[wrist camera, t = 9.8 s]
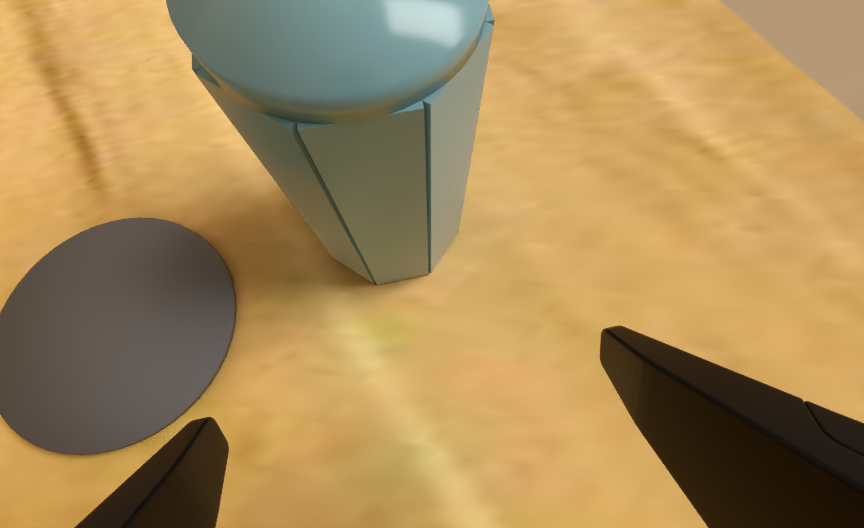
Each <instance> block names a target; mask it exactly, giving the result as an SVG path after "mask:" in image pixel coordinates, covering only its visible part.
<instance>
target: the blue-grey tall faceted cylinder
mask: <svg viewBox="0 0 864 528" xmlns="http://www.w3.org/2000/svg"><path fill="white" fill-rule="evenodd" d="M488 2H489V0H166V3H167V7H168V11H169V14H170V18H171V20H172V22H173V24H174V26H175V28H176V30H177V32H178V34H179V35H180V37H181V38H182V40H183V41H184V43H185V44H186V45H187V47H188V48H189V50H190V51H191V52H192V69H193V71H194V72H195V74H196V75H197V77H198V78H199V80H200V81H201V82H202V84H203V85H204V86H205V88H206V89H207V90H208V92H209V93H210V94H211V96H212V97H213V98H214V100H215V101H216V102H217V104H218V105H219V106H220V108H221V109H222V110H223V112H224V113H225V114H226V116H227V117H228V118H229V120H230V121H231V122H232V124H233V125H234V126H235V128H236V129H237V130H238V132H239V133H240V134H241V136H242V137H243V138H244V140H245V141H246V142H247V144H248V145H249V147H250V148H251V149H252V151H253V152H254V153H255V155H256V156H257V157H258V159H259V160H260V161H261V163H262V164H263V165H264V167H265V168H266V169H267V171H268V172H269V173H270V175H271V176H272V177H273V179H274V180H275V181H276V183H277V184H278V185H279V187H280V188H281V189H282V191H283V192H284V193H285V195H286V196H287V197H288V199H289V200H290V201H291V203H292V204H293V205H294V207H295V208H296V210H297V211H298V212H299V214H300V215H301V216H302V218H303V219H304V220H305V222H306V223H307V224H308V226H309V227H310V228H311V230H312V231H313V232H314V234H315V235H316V236H317V238H318V239H319V240H320V242H321V243H322V244H323V246H324V247H325V248H326V250H327V251H328V252H329V254H330V255H331V256H332V258H334V259H335V260H337V261H338V262H340V263H342V264H343V265H345V266H346V267H348V268H349V269H351V270H352V271H354V272H356V273H357V274H359V275H360V276H362V277H363V278H365V279H366V280H368V281H369V282H371V283H373V284H375V283H376V284H377V285H380V284H385V283H390V282H394V281H399V280H404V279H409V278H414V277H419V276H424V275H429V272H432V271H433V269H434V268H435V266H436V265H437V264H438V262H439V261H440V259H441V258H442V256H443V255H444V253H445V252H446V250H447V249H448V247H449V246H450V244H451V243H452V241H453V240H454V238H455V237H456V235H457V234H458V232H459V227H460V221H461V215H462V209H463V203H464V197H465V191H466V185H467V179H468V174H469V168H470V162H471V156H472V150H473V144H474V138H475V132H476V126H477V120H478V115H479V109H480V103H481V97H482V91H483V85H484V79H485V73H486V67H487V62H488V56H489V50H490V44H491V38H492V32H493V26H494V17H493V14H492V11H491V9H490V6H489V3H488Z"/></svg>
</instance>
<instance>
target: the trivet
mask: <svg viewBox="0 0 864 528" xmlns="http://www.w3.org/2000/svg"><path fill="white" fill-rule="evenodd" d="M235 320H236V295H235V290H234V285H233V281H232V278H231V275H230V273H229V270H228V268H227V266H226V264H225V262H224V261H223V259H222V257H221V256H220V255H219V254H218V252H217V251H216V250H215V248H213V247H212V246H211V245H210V244H209V243H208V242H207V241H206V240H205V239H203V238H202V237H200V236H199V235H197V234H196V233H194V232H193V231H191V230H189V229H187V228H185V227H183V226H181V225H179V224H176V223H173V222H169V221H166V220H160V219H154V218H130V219H122V220H117V221H111V222H108V223H104V224H101V225H98V226H95V227H92V228H90V229H88V230H85V231H83V232H81V233H79V234H77V235H75V236H73V237H71V238H69V239H68V240H66V241H65V242H63V243H62V244H60V245H59V246H57V247H56V248H54V249H53V250H52V251H50V252H49V253H48V254H47V255H45V256H44V257H43V258H42V259H41V260H40V261H39V262H37V263H36V264H35V265H34V266H33V267H32V268H31V269H30V270H29V271H28V273H27V274H26V275H25V276H24V277H23V279H22V280H21V281H20V282H19V283H18V285H17V286H16V288H15V289H14V291H13V292H12V294H11V295H10V296H9V298H8V300H7V302H6V304H5V305H4V307H3V309H2V311H1V313H0V414H1V416H2V417H3V418H4V420H5V421H6V422H7V423H8V425H9V426H10V427H11V428H12V429H13V430H14V431H15V432H16V433H17V434H19V435H20V436H21V437H22V438H24V439H25V440H27V441H29V442H30V443H32V444H34V445H36V446H38V447H41V448H44V449H46V450H49V451H53V452H58V453H63V454H78V455H83V454H94V453H102V452H107V451H111V450H116V449H120V448H124V447H127V446H130V445H132V444H135V443H138V442H141V441H142V440H144V439H146V438H148V437H150V436H152V435H154V434H156V433H158V432H160V431H161V430H163V429H164V428H166V427H167V426H169V425H170V424H172V423H173V422H174V421H175V420H177V419H178V418H179V417H180V416H182V415H183V414H184V413H185V412H186V411H187V410H188V409H189V408H190V407H191V406H192V405H193V404H194V403H195V402H196V401H197V400H198V399H199V398H200V397H201V396H202V394H203V393H204V392H205V390H206V389H207V388H208V387H209V385H210V384H211V382H212V381H213V379H214V378H215V376H216V374H217V373H218V371H219V370H220V368H221V365H222V363H223V361H224V359H225V357H226V355H227V352H228V349H229V346H230V343H231V341H232V337H233V332H234V327H235Z"/></svg>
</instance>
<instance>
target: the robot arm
mask: <svg viewBox="0 0 864 528" xmlns="http://www.w3.org/2000/svg"><path fill="white" fill-rule="evenodd" d="M600 361H601V364H602V366H603V368H604V370H605V371H606V373H607V375H608V377H609V379H610V380H611V382H612V384H613V386H614V387H615V389H616V391H617V393H618V394H619V396H620V398H621V400H622V402H623V403H624V405H625V407H626V409H627V410H628V412H629V414H630V416H631V417H632V419H633V421H634V422H635V424H636V425H637V427H638V428H639V430H640V431H641V433H642V434H643V436H644V437H645V439H646V440H647V441H648V443H649V444H650V446H651V447H652V448H653V450H654V451H655V453H656V454H657V456H658V457H659V458H660V460H661V461H662V463H663V464H664V465H665V467H666V468H667V470H668V471H669V473H670V474H671V475H672V477H673V478H674V480H675V481H676V482H677V484H678V485H679V487H680V488H681V490H682V491H683V492H684V494H685V495H686V497H687V498H688V499H689V501H690V502H691V504H692V505H693V507H694V508H695V509H696V511H697V512H698V514H699V515H700V516H701V518H702V519H703V521H704V522H705V523H706V525H707V526H708V528H864V423H862V422H859V421H857V420H854V419H851V418H849V417H846V416H844V415H841V414H839V413H836V412H834V411H831V410H829V409H826V408H824V407H821V406H819V405H816V404H814V403H811V402H809V401H805V402H804V401H803V400H802V399H801V398H799V397H796V396H794V395H791V394H789V393H786V392H784V391H781V390H779V389H776V388H774V387H771V386H769V385H767V384H764V383H762V382H759V381H757V380H754V379H752V378H749V377H747V376H744V375H742V374H739V373H737V372H734V371H732V370H729V369H727V368H725V367H722V366H720V365H717V364H715V363H712V362H710V361H707V360H705V359H702V358H700V357H697V356H695V355H692V354H690V353H687V352H685V351H682V350H680V349H678V348H675V347H673V346H670V345H668V344H665V343H663V342H660V341H658V340H655V339H653V338H650V337H648V336H645V335H643V334H640V333H638V332H636V331H633V330H631V329H628V328H626V327H623V326H613V327H609V328H605V329H603V330H602V332H601V343H600ZM228 452H229V447H228V442H227V440H226V438H225V436H224V435H223V433H222V431H221V429H220V428H219V426H218V424H217V422H216V421H215V419H213V418H212V417H206V418H202V419H197V420H193V421H191V422H189V423H188V424H187V425H186V426H185V427H184V428H183V429H182V430H181V431H179V432H178V433H177V434H176V435H175V436H174V437H173V438H172V439H171V440H170V441H169V442H167V443H166V444H165V445H164V446H163V447H162V448H161V449H160V450H159V451H158V452H157V453H155V454H154V455H153V456H152V457H151V458H150V459H149V460H148V461H147V462H146V463H145V464H143V465H142V466H141V467H140V468H139V469H138V470H137V471H136V472H135V473H134V474H133V475H131V476H130V477H129V478H128V479H127V480H126V481H125V482H124V483H123V484H122V485H121V486H119V487H118V488H117V489H116V490H115V491H114V492H113V493H112V494H111V495H110V496H109V497H107V498H106V499H105V500H104V501H103V502H102V503H101V504H100V505H99V506H98V507H96V508H95V509H94V510H93V511H92V512H91V513H90V514H89V515H88V516H87V517H86V518H84V519H83V520H82V521H81V522H80V523H79V524H78V525H77V526H76V527H75V528H215V526H216V522H217V517H218V512H219V506H220V500H221V494H222V488H223V482H224V476H225V470H226V464H227V459H228Z"/></svg>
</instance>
